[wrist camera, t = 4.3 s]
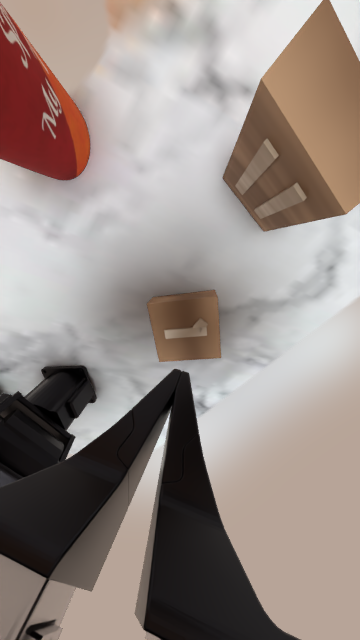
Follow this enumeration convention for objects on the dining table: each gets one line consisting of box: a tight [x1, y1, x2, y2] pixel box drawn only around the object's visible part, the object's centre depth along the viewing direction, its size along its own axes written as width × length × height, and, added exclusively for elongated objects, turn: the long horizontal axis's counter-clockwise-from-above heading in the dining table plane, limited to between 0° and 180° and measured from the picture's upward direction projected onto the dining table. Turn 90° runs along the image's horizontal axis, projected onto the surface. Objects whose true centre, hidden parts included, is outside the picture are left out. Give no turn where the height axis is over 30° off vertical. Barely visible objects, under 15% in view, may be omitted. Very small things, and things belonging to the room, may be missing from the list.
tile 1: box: [147, 290, 221, 362], centre depth 20 cm, size 7×7×3 cm
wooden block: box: [223, 0, 360, 231], centre depth 11 cm, size 3×6×10 cm, turn 45°
